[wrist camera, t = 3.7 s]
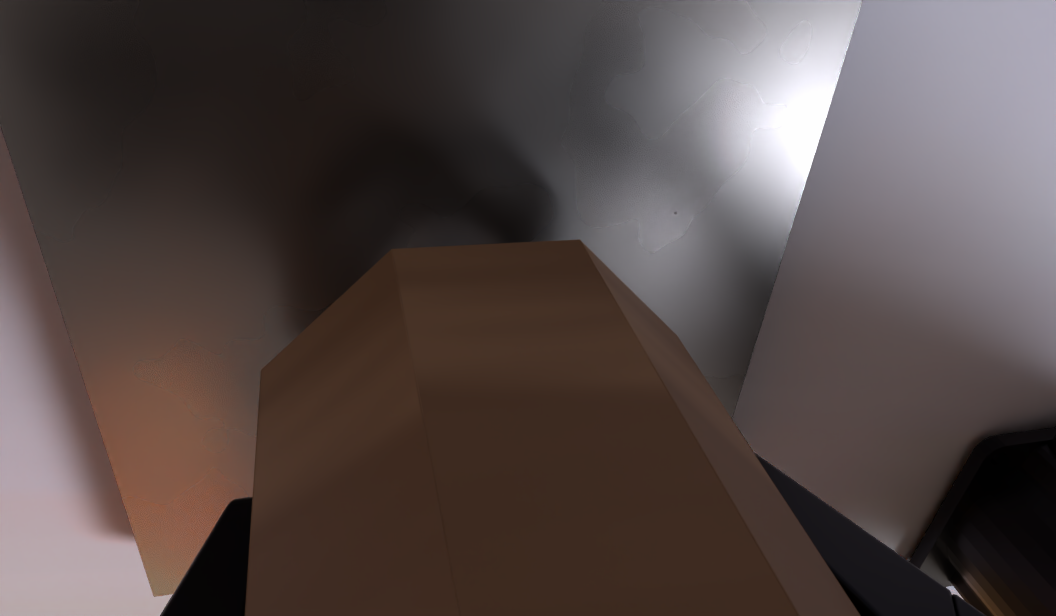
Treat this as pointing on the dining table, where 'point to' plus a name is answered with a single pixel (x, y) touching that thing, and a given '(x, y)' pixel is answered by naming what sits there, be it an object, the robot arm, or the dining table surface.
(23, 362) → the dining table surface
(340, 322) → the sleeve
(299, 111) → the stand
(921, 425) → the dining table surface
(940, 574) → the robot arm
